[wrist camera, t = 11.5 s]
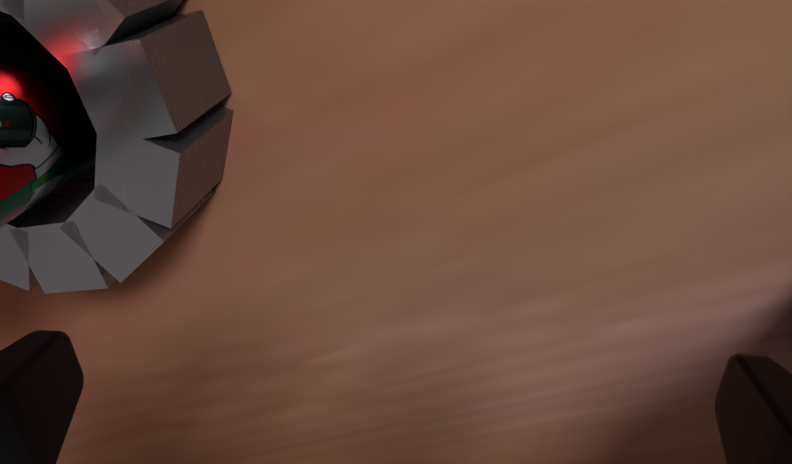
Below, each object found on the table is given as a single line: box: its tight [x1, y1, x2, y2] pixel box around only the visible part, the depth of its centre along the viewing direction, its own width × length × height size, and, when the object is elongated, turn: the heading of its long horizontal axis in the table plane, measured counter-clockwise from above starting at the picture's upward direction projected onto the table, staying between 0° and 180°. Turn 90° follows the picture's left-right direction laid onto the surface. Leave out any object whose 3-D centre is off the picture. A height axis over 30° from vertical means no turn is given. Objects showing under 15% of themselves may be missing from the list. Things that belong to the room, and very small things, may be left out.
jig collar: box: [0, 0, 233, 294], centre depth 21 cm, size 12×12×4 cm
